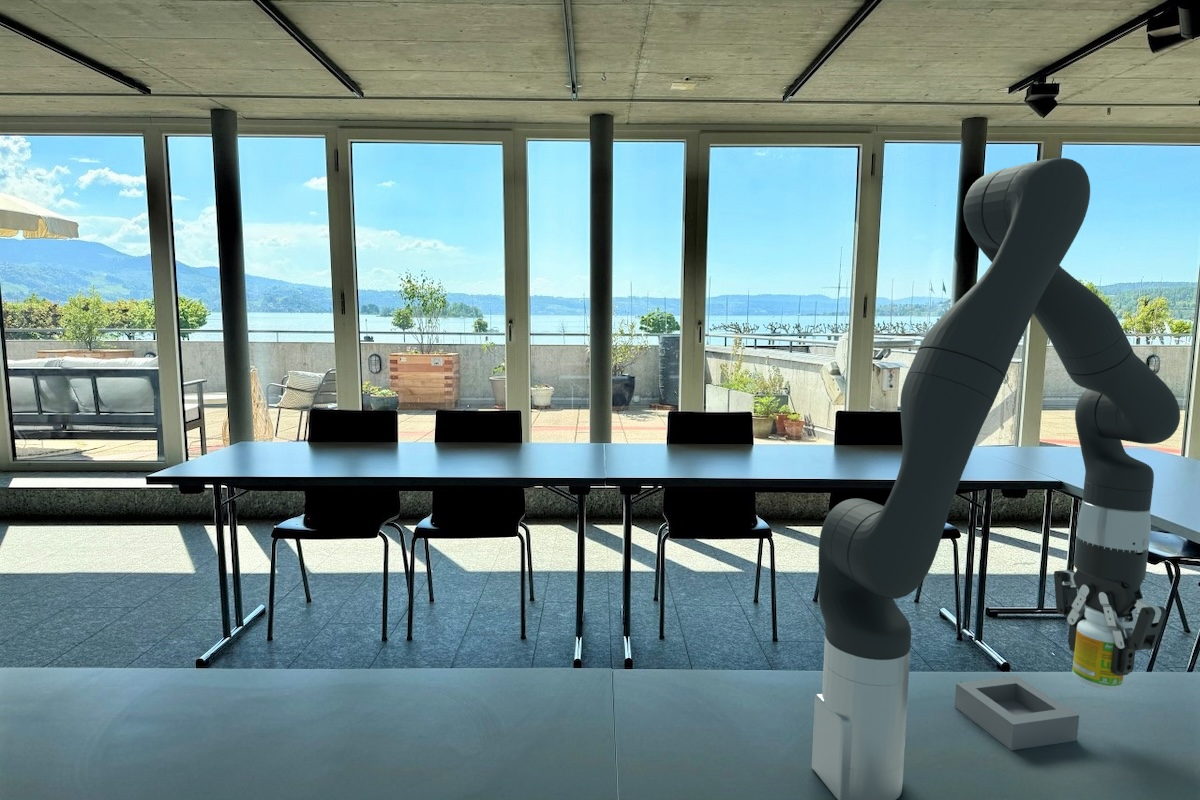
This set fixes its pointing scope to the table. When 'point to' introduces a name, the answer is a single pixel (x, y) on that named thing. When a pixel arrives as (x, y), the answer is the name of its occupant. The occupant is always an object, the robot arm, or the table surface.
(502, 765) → the table surface
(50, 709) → the table surface
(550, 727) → the table surface
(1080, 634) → the supplement bottle
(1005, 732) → the socket mount
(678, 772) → the table surface
